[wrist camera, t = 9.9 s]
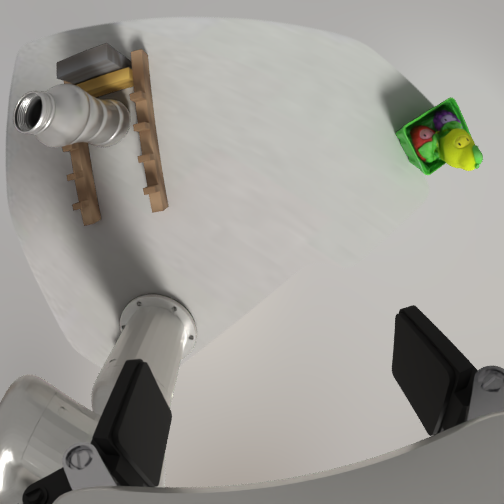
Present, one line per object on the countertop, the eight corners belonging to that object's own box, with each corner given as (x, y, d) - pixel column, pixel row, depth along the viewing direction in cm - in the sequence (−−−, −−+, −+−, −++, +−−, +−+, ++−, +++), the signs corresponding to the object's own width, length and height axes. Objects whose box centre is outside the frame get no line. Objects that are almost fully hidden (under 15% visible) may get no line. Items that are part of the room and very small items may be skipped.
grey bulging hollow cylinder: (85, 123, 37) (-7, 115, 18) (120, 92, 36) (40, 59, 17) (107, 156, 38) (19, 167, 19) (144, 126, 38) (70, 111, 19)
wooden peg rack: (168, 206, 41) (150, 220, 33) (93, 220, 41) (63, 237, 33) (147, 55, 34) (126, 34, 26) (73, 79, 34) (41, 68, 26)
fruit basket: (434, 98, 37) (480, 91, 27) (457, 147, 40) (504, 152, 29) (384, 129, 39) (426, 125, 28) (411, 181, 41) (455, 192, 31)
